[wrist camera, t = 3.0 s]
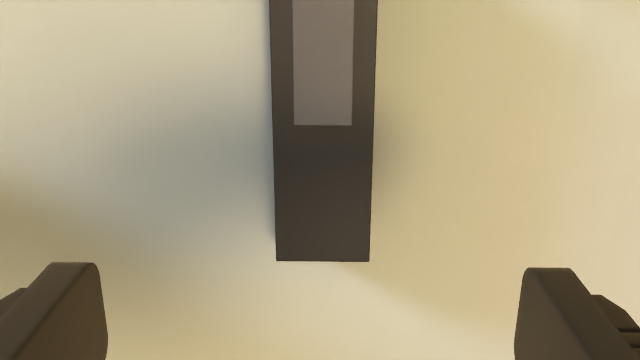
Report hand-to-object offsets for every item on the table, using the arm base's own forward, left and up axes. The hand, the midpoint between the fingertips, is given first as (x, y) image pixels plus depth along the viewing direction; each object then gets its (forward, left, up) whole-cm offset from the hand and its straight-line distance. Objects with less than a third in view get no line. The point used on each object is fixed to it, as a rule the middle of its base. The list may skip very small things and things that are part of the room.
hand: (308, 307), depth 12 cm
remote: (0, 0, -20) cm, 20 cm away
